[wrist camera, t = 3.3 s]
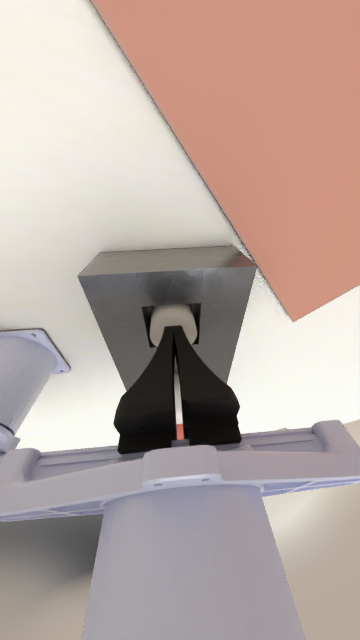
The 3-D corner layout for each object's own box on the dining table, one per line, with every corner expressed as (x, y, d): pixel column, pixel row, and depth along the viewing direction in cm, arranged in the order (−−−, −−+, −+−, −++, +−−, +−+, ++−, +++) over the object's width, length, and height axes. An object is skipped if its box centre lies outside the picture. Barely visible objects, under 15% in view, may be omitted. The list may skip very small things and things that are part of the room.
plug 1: (155, 317, 19) (152, 352, 15) (150, 286, 16) (146, 318, 12) (189, 315, 19) (196, 349, 15) (189, 284, 16) (197, 315, 13)
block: (147, 403, 32) (144, 433, 29) (100, 252, 15) (77, 276, 11) (209, 398, 33) (215, 426, 29) (233, 245, 16) (256, 266, 12)
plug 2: (162, 383, 22) (162, 425, 18) (159, 365, 20) (158, 409, 16) (191, 381, 22) (197, 422, 19) (191, 363, 20) (198, 406, 16)
